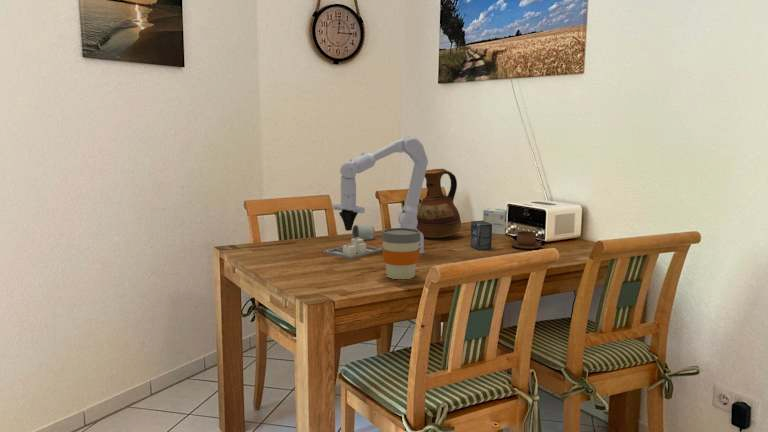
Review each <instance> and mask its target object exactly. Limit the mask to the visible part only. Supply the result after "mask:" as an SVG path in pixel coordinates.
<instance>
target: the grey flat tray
mask: <svg viewBox="0 0 768 432" xmlns="http://www.w3.org/2000/svg"><path fill="white" fill-rule="evenodd" d="M382 248H383V247H382ZM382 248H378V247H374V246H369V245H366V252H365V253H358V252H356V255H352V256H350V255H345V254H343V246H341V247H340V246H339V247H336V248H331V249H326V250H323V254H326V255H331V256H335V257H340V258H344V259H349V260H352V259H355V258H360V257H364V256H368V255H372V254H375V253H381V252H383V250H382Z"/></svg>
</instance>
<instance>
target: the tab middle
mask: <svg viewBox="0 0 768 432" xmlns="http://www.w3.org/2000/svg"><path fill="white" fill-rule="evenodd" d="M353 245H354V246H356V252H358V253H365V252H366V246H367V243H365V242H364V243H362V241H360V242H356V243H353Z"/></svg>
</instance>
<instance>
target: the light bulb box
mask: <svg viewBox="0 0 768 432" xmlns="http://www.w3.org/2000/svg"><path fill="white" fill-rule="evenodd" d="M507 210H508V209H502V208H501V209H500V208H491V207H490V208H485V209H483V213H482V214H483V215H482V217H483V218H482V221H485V222H488V223H491V224H492V235H502V236H503V235H507V234H506V215H507Z"/></svg>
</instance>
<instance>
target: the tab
mask: <svg viewBox="0 0 768 432" xmlns="http://www.w3.org/2000/svg"><path fill="white" fill-rule="evenodd" d="M342 247H343V254H345V255H350V256H352V255H356V246H354V245H352V244H351V242H350V243H347V244H344V245H342Z"/></svg>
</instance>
